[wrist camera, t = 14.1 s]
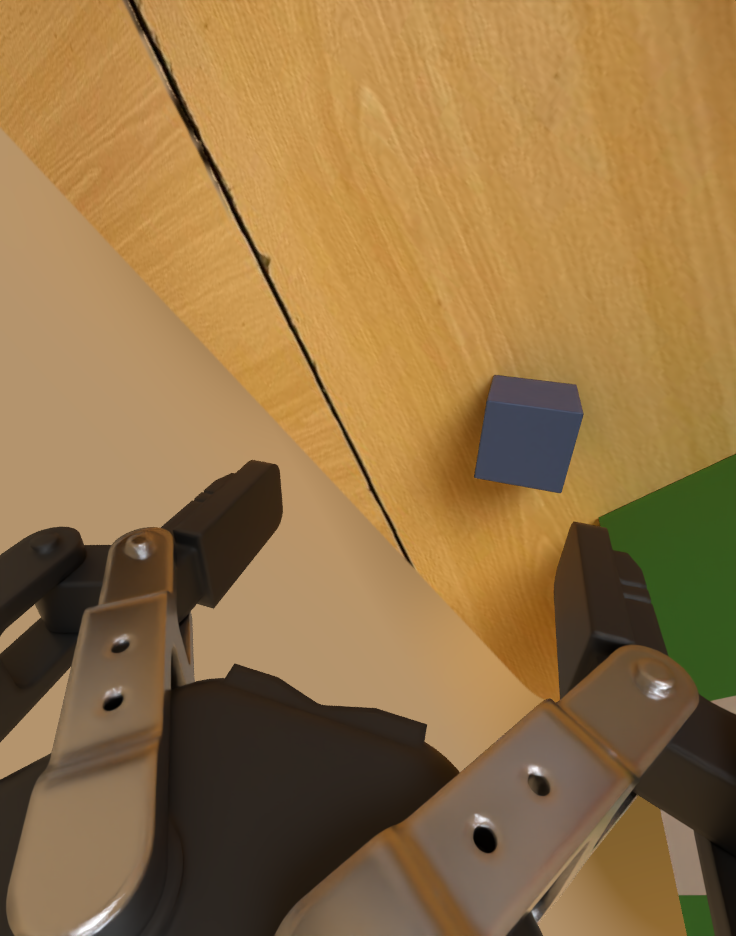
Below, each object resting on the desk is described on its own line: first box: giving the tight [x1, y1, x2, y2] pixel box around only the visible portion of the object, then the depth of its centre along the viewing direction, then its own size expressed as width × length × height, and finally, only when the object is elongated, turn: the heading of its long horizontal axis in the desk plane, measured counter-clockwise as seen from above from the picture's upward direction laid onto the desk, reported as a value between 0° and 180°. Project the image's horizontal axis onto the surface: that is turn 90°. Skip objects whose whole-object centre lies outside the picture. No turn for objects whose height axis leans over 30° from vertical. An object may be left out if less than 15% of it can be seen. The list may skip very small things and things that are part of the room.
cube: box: [474, 375, 583, 493], centre depth 28 cm, size 5×5×5 cm
